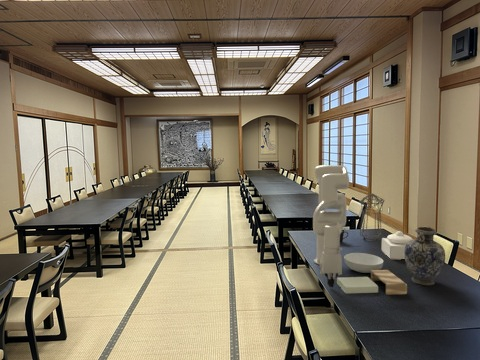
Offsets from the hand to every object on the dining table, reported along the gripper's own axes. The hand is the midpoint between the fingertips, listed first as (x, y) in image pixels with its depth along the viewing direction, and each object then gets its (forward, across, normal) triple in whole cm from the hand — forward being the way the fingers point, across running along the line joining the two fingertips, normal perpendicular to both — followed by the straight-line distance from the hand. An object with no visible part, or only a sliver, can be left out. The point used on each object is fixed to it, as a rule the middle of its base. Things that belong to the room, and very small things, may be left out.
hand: (330, 285), depth 169 cm
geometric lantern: (+2, -56, -81) cm, 99 cm away
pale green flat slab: (+1, -13, 0) cm, 13 cm away
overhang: (+1, -28, 0) cm, 28 cm away
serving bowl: (+2, -26, -23) cm, 35 cm away
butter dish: (+2, -60, -47) cm, 76 cm away
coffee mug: (+2, -31, -77) cm, 83 cm away
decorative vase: (+2, -50, -5) cm, 50 cm away
